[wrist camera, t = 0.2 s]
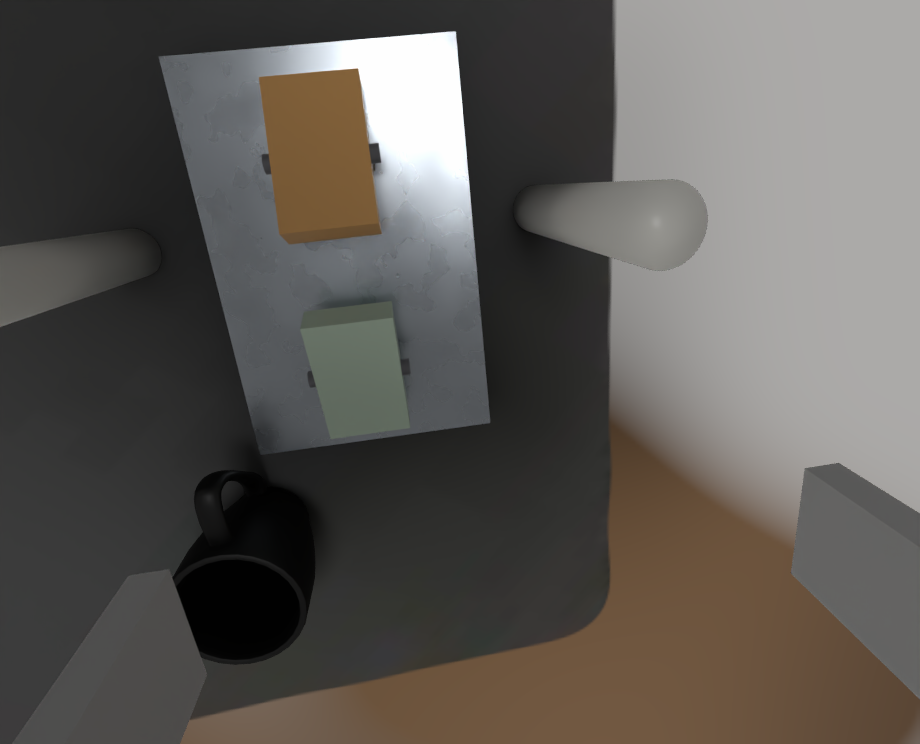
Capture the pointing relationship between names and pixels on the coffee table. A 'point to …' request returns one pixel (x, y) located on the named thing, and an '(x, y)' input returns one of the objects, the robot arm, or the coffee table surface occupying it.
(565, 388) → the coffee table surface
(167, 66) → the panel
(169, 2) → the coffee table surface
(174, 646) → the robot arm
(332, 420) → the rocker on
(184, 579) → the mug
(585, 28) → the coffee table surface
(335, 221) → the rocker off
